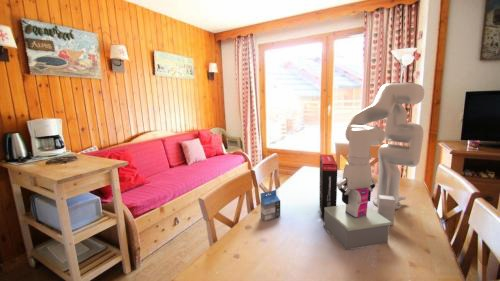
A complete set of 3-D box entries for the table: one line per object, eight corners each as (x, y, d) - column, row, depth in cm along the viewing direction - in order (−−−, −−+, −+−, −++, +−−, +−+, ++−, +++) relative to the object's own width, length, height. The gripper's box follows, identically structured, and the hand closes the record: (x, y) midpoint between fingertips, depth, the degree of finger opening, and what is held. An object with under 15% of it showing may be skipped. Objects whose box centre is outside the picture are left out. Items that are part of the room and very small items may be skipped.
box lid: (361, 204, 107) (361, 202, 107) (391, 224, 90) (391, 222, 90) (324, 209, 103) (324, 207, 103) (348, 230, 87) (348, 228, 87)
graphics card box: (336, 221, 108) (339, 163, 103) (320, 220, 110) (322, 163, 105) (331, 204, 125) (333, 154, 120) (317, 204, 126) (319, 153, 121)
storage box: (360, 221, 108) (361, 205, 106) (387, 242, 92) (389, 224, 91) (323, 227, 104) (324, 210, 103) (345, 249, 89) (346, 230, 87)
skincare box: (391, 221, 108) (393, 196, 105) (393, 225, 104) (396, 200, 102) (376, 219, 110) (378, 194, 107) (377, 223, 106) (380, 198, 104)
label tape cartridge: (264, 221, 110) (264, 196, 108) (260, 217, 113) (259, 193, 111) (280, 216, 114) (280, 192, 112) (276, 213, 117) (276, 189, 115)
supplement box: (355, 218, 93) (357, 191, 91) (344, 212, 98) (346, 185, 96) (367, 216, 95) (369, 188, 93) (356, 209, 100) (357, 183, 98)
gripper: (371, 156, 98) (368, 195, 101) (332, 159, 94) (331, 200, 97) (385, 160, 90) (381, 202, 94) (344, 164, 87) (341, 208, 90)
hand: (356, 201), depth 96 cm, fingers open, 9 cm apart
